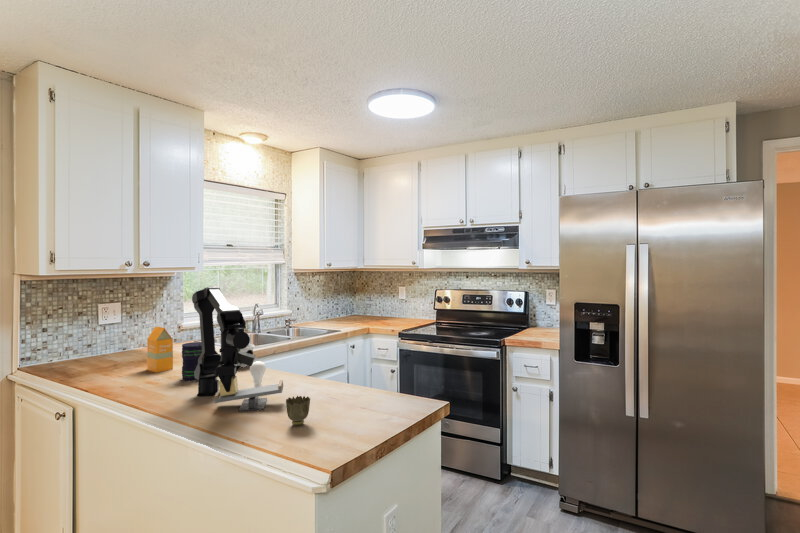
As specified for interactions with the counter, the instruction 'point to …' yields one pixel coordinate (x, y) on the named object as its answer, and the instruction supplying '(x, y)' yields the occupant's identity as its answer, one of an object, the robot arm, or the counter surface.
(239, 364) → the teacup
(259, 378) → the lightbulb
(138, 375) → the counter surface
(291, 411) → the cup
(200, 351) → the dark blue cylinder
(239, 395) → the beam
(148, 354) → the orange juice
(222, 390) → the golden cube
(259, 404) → the pivot stand
